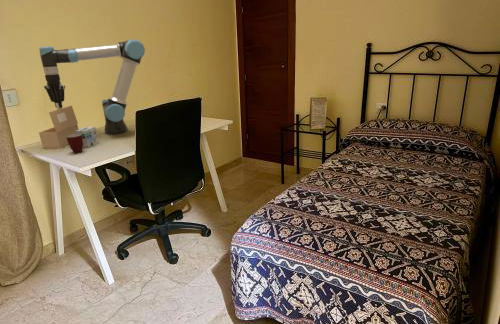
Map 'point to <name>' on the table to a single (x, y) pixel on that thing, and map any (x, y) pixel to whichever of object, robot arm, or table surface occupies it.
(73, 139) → the mug
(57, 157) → the table surface
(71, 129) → the carton
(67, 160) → the table surface
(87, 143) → the light bulb box
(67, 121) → the box lid
